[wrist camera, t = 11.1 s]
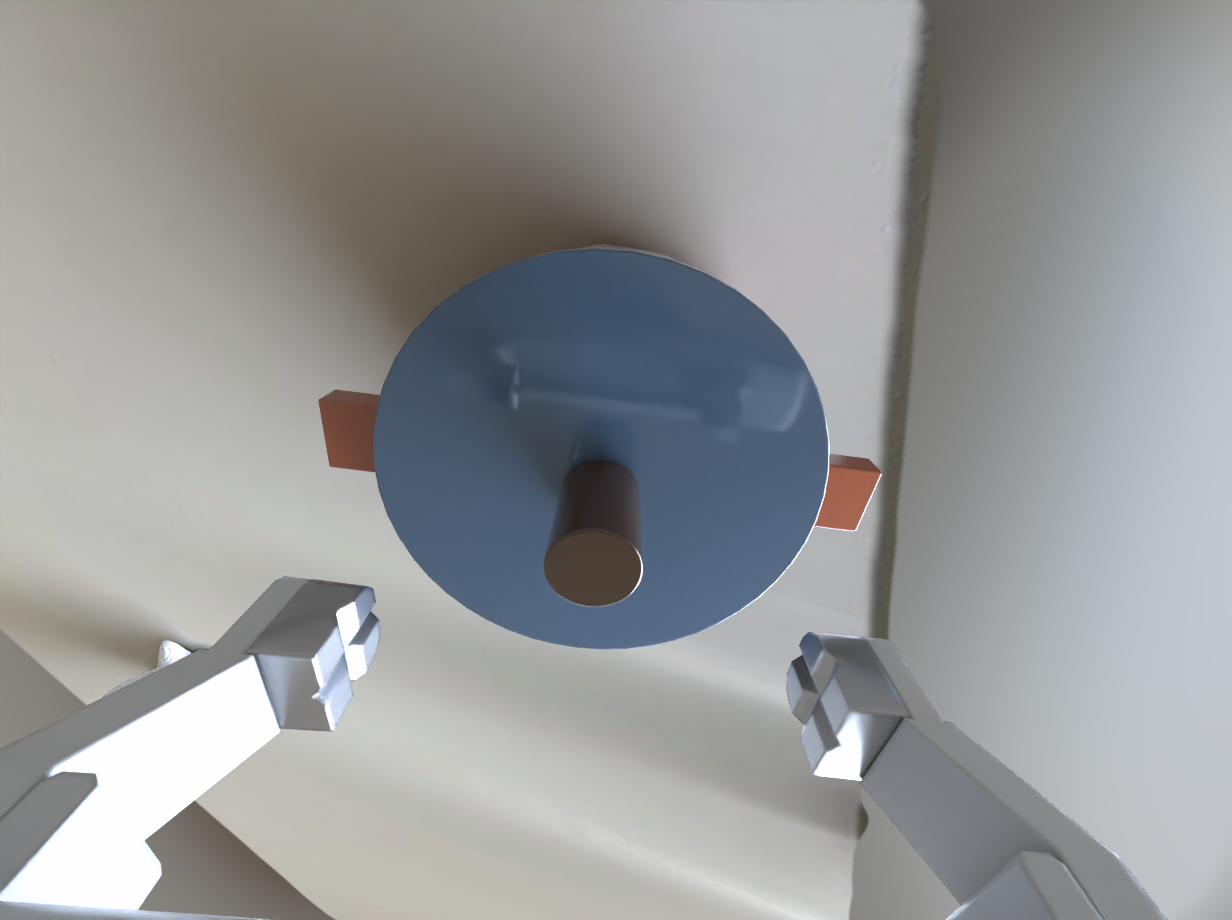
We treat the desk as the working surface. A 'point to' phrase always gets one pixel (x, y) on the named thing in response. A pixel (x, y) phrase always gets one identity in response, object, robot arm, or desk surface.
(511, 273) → the lid
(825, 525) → the pot
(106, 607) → the desk surface
